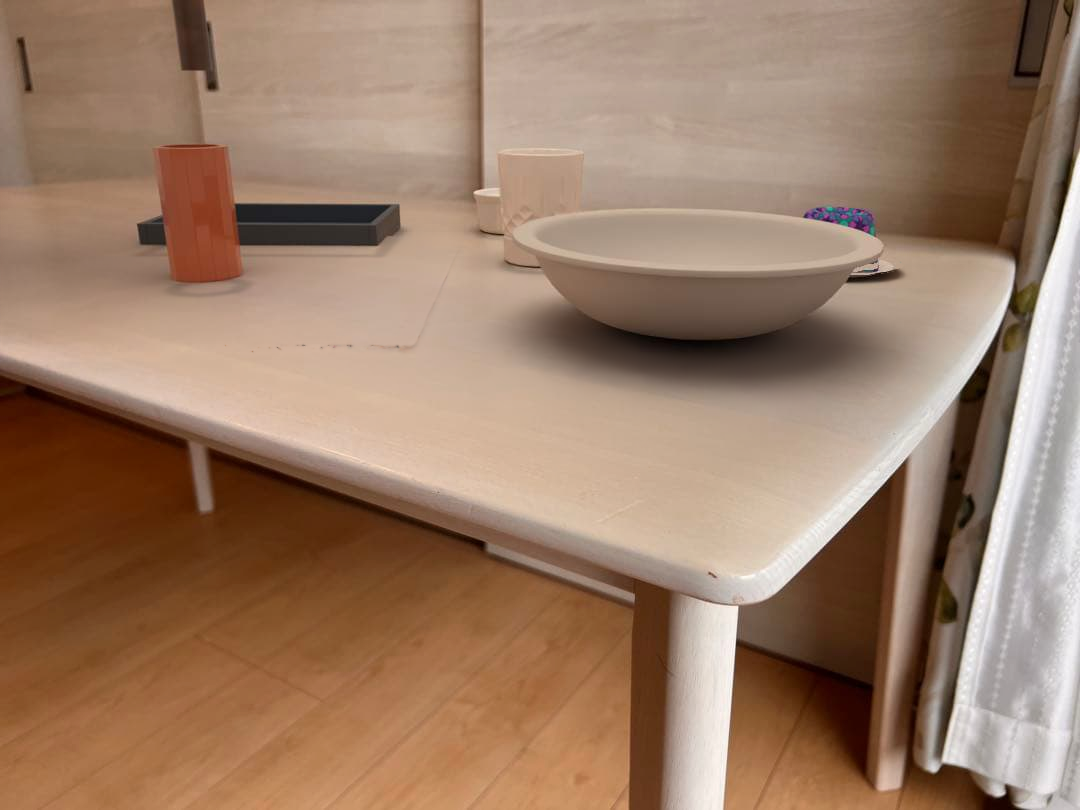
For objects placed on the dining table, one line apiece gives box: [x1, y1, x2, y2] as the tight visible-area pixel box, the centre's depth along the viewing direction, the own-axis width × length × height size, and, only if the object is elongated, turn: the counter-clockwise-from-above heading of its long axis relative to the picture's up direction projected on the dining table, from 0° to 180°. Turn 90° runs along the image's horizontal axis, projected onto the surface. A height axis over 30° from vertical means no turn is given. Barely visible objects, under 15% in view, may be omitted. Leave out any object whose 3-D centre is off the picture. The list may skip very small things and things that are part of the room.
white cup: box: [497, 147, 585, 268], centre depth 80 cm, size 8×8×10 cm
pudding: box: [802, 206, 893, 278], centre depth 78 cm, size 12×12×5 cm
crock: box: [151, 142, 244, 284], centre depth 70 cm, size 6×6×11 cm
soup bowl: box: [512, 207, 885, 341], centre depth 58 cm, size 24×24×7 cm
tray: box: [136, 202, 402, 247], centre depth 92 cm, size 24×16×3 cm, turn 90°
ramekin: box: [473, 187, 505, 235], centre depth 98 cm, size 9×9×4 cm
